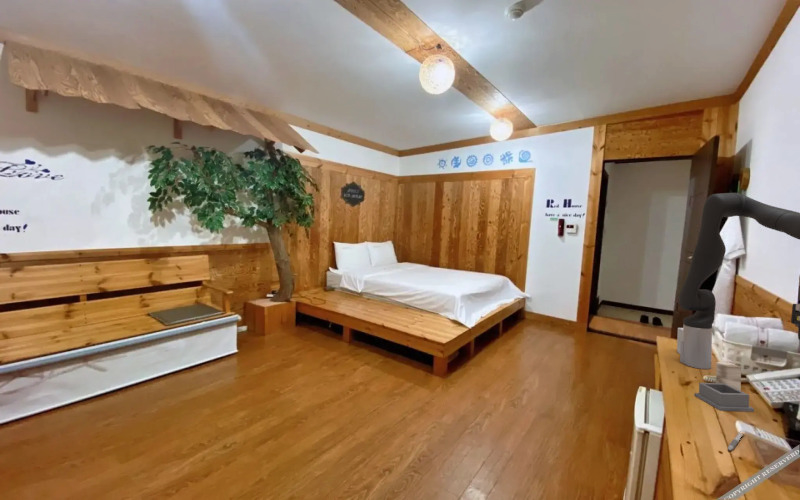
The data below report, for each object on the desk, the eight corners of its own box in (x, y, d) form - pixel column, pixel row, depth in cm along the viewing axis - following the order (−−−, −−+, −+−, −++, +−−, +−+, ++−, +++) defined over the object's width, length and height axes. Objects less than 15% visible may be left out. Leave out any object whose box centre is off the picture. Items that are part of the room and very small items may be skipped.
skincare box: (681, 355, 154) (681, 329, 153) (676, 351, 158) (676, 327, 157) (697, 356, 152) (697, 330, 151) (691, 353, 156) (692, 328, 156)
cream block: (716, 388, 119) (716, 362, 119) (728, 389, 119) (729, 362, 118) (727, 394, 115) (727, 366, 114) (740, 395, 114) (741, 367, 114)
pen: (745, 436, 91) (745, 431, 91) (731, 454, 84) (731, 448, 84) (740, 434, 92) (740, 429, 92) (726, 452, 85) (726, 446, 85)
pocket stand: (694, 395, 114) (694, 381, 114) (725, 396, 113) (725, 382, 113) (720, 410, 104) (720, 395, 104) (753, 411, 103) (754, 396, 103)
